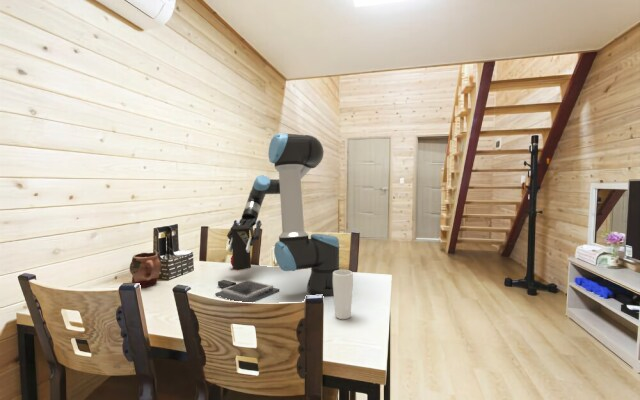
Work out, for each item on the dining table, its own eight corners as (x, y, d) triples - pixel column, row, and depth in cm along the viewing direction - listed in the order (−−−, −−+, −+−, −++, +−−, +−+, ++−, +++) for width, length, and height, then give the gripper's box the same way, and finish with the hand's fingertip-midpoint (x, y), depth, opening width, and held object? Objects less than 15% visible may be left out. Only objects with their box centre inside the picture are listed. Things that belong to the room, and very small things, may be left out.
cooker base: (279, 291, 133) (279, 285, 133) (246, 305, 119) (245, 298, 118) (237, 281, 148) (237, 275, 148) (203, 291, 134) (203, 286, 133)
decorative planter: (170, 286, 141) (169, 255, 140) (140, 294, 132) (139, 260, 131) (151, 278, 154) (150, 249, 153) (123, 284, 145) (121, 253, 144)
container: (246, 270, 146) (245, 226, 145) (228, 269, 147) (227, 226, 146) (254, 265, 154) (253, 224, 153) (237, 265, 156) (235, 224, 155)
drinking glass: (357, 316, 108) (357, 271, 107) (344, 322, 103) (344, 276, 102) (341, 311, 112) (340, 268, 111) (328, 317, 107) (328, 272, 106)
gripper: (272, 217, 163) (262, 255, 148) (234, 217, 167) (220, 254, 152) (269, 207, 158) (257, 246, 142) (229, 208, 161) (214, 245, 146)
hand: (238, 250), depth 147 cm, fingers closed on container, 8 cm apart
